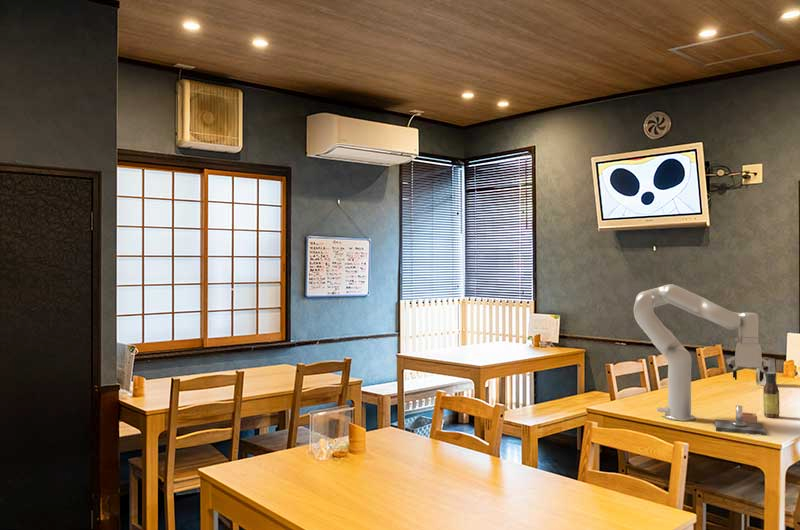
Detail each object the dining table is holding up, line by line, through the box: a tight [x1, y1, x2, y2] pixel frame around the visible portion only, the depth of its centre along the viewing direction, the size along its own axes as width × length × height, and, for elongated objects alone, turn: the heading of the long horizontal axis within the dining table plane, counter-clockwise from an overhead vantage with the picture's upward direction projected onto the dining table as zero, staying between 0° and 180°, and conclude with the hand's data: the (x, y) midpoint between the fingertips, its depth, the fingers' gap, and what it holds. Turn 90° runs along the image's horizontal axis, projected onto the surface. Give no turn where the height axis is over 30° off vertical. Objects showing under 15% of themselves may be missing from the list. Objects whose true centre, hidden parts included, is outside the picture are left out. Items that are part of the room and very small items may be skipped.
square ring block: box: [742, 411, 758, 423], centre depth 285 cm, size 7×7×4 cm
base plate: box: [714, 419, 767, 436], centre depth 273 cm, size 18×16×2 cm
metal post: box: [731, 405, 747, 427], centre depth 273 cm, size 6×6×8 cm
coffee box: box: [755, 356, 777, 386], centre depth 380 cm, size 9×6×16 cm
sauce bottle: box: [762, 372, 780, 419], centre depth 296 cm, size 7×6×20 cm
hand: (748, 380), depth 285 cm, fingers open, 9 cm apart
